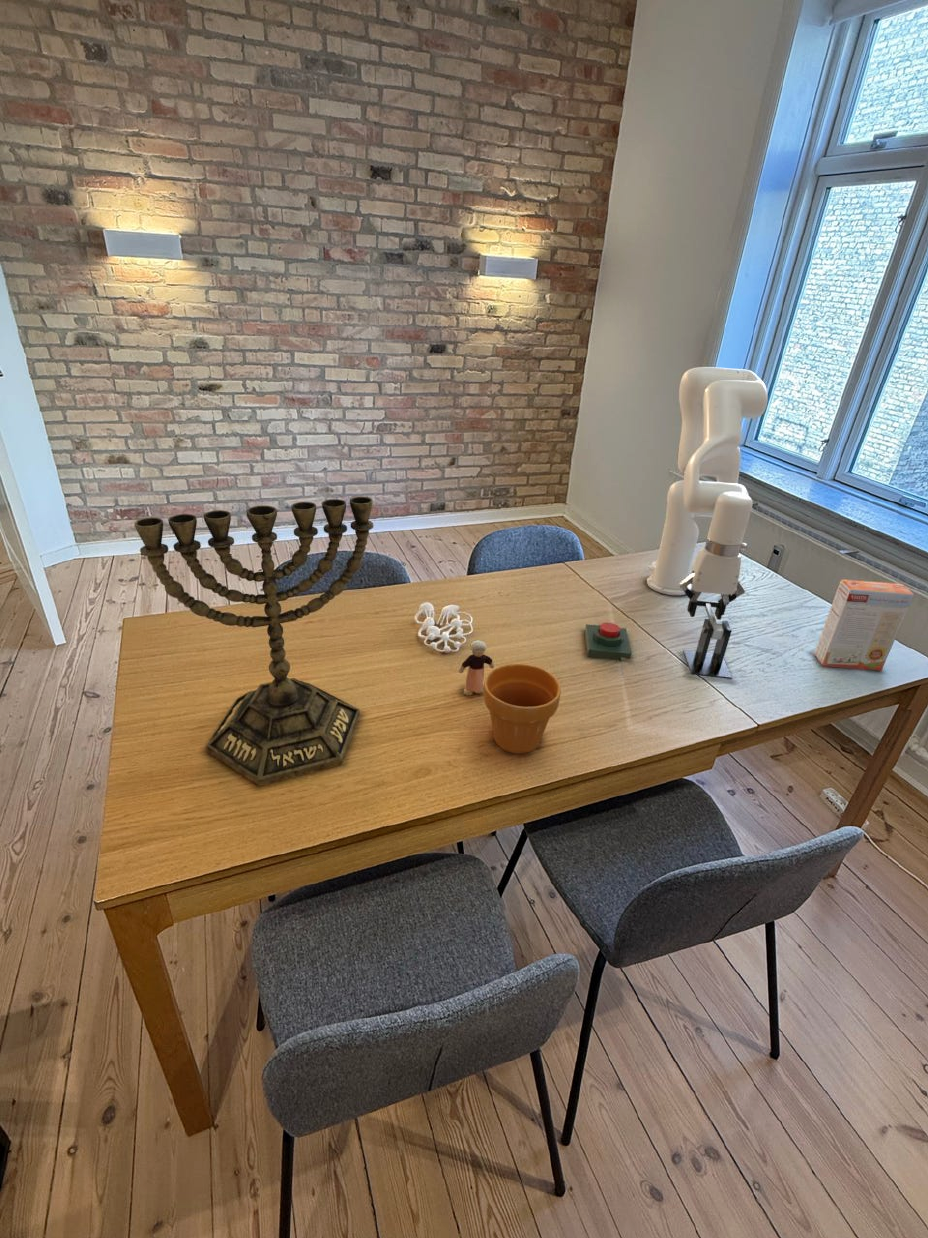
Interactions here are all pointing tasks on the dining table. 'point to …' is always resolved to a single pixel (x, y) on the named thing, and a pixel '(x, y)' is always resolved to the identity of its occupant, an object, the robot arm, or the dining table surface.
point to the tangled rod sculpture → (434, 631)
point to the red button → (609, 630)
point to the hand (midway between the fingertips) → (704, 615)
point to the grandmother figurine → (476, 668)
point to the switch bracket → (710, 662)
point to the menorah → (285, 708)
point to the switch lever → (712, 618)
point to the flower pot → (520, 704)
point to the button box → (606, 644)
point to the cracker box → (862, 624)
